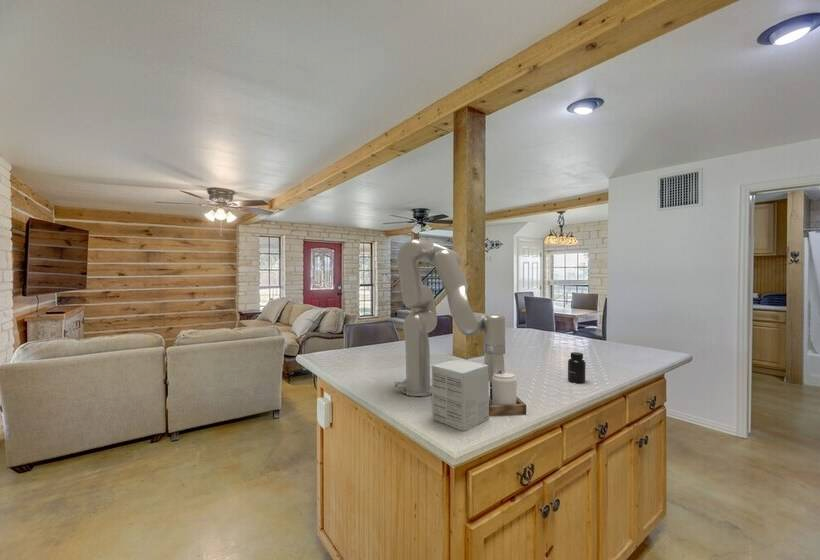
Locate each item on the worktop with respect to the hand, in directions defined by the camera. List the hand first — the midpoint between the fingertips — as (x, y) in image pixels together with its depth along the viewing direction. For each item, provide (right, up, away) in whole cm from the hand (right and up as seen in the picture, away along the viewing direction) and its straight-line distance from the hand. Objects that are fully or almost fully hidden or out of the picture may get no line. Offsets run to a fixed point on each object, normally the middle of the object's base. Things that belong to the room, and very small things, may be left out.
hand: (495, 399), depth 131 cm
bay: (+1, -1, -5) cm, 6 cm away
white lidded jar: (+2, -1, -6) cm, 7 cm away
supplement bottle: (+40, 0, +23) cm, 46 cm away
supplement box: (-14, -2, -14) cm, 20 cm away
